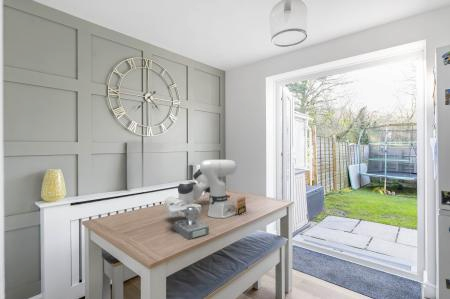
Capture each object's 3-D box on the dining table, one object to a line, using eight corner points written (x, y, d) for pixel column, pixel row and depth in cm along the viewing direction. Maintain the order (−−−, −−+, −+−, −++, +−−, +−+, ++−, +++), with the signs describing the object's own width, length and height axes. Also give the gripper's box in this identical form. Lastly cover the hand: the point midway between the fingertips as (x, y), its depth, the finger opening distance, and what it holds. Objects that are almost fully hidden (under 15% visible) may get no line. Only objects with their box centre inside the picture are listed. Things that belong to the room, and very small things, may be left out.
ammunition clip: (237, 216, 163) (238, 198, 163) (235, 215, 165) (235, 198, 164) (245, 212, 172) (246, 196, 172) (243, 211, 173) (244, 195, 173)
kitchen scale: (192, 225, 144) (193, 217, 144) (209, 234, 130) (209, 225, 130) (173, 229, 136) (173, 221, 136) (188, 240, 122) (188, 231, 122)
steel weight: (192, 221, 137) (192, 206, 136) (196, 223, 133) (197, 208, 133) (184, 223, 134) (184, 207, 133) (189, 225, 130) (189, 209, 129)
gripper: (194, 209, 150) (206, 215, 139) (164, 215, 137) (175, 222, 126) (194, 200, 149) (207, 205, 139) (164, 205, 137) (175, 210, 126)
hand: (191, 213), depth 132 cm, fingers open, 8 cm apart
